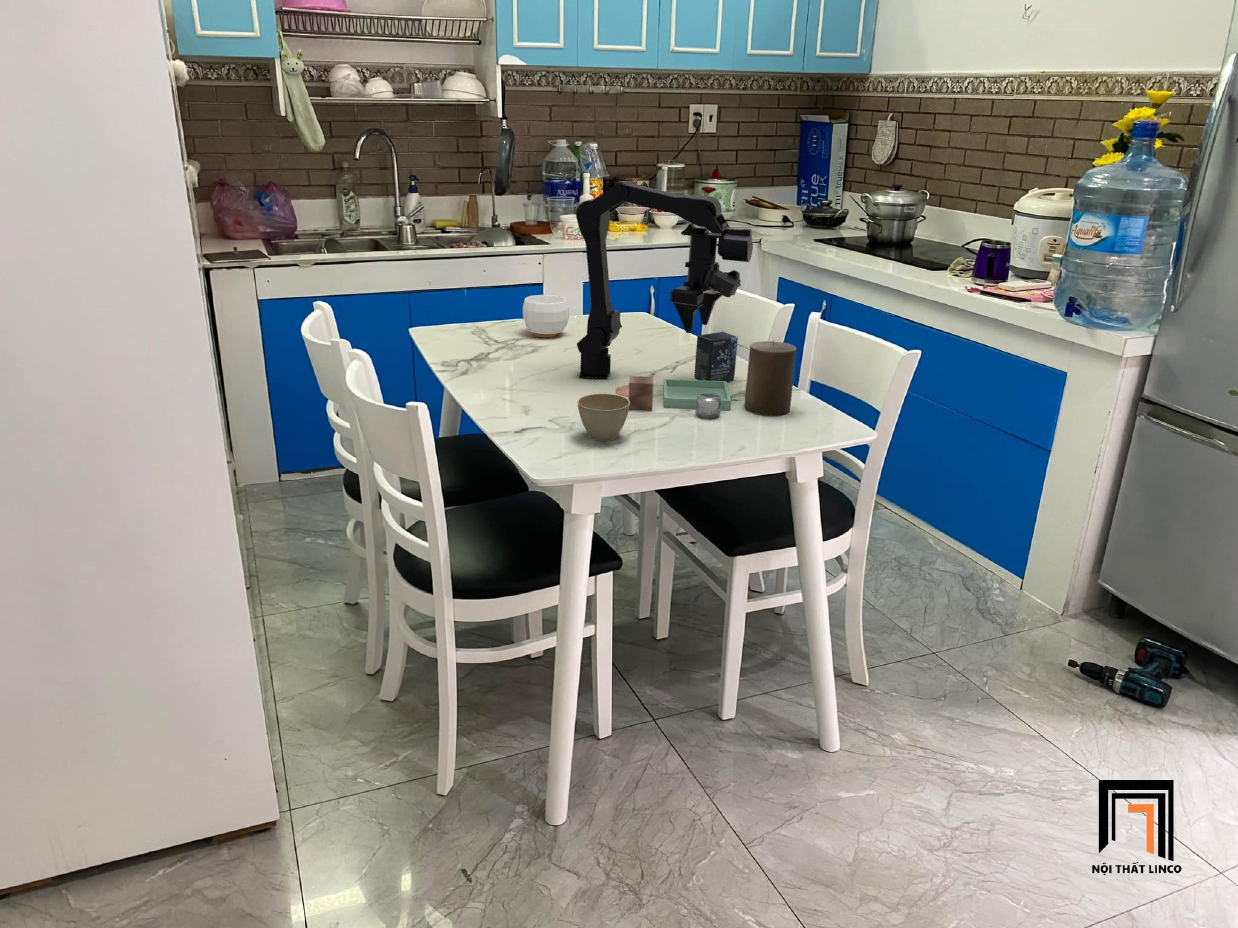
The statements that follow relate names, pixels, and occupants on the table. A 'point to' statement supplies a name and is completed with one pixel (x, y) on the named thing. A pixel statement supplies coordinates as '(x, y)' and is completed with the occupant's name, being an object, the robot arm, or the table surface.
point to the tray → (693, 392)
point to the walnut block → (640, 393)
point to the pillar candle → (770, 378)
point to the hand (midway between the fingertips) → (696, 329)
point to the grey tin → (708, 406)
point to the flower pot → (603, 415)
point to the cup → (546, 314)
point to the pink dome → (623, 391)
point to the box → (716, 357)
